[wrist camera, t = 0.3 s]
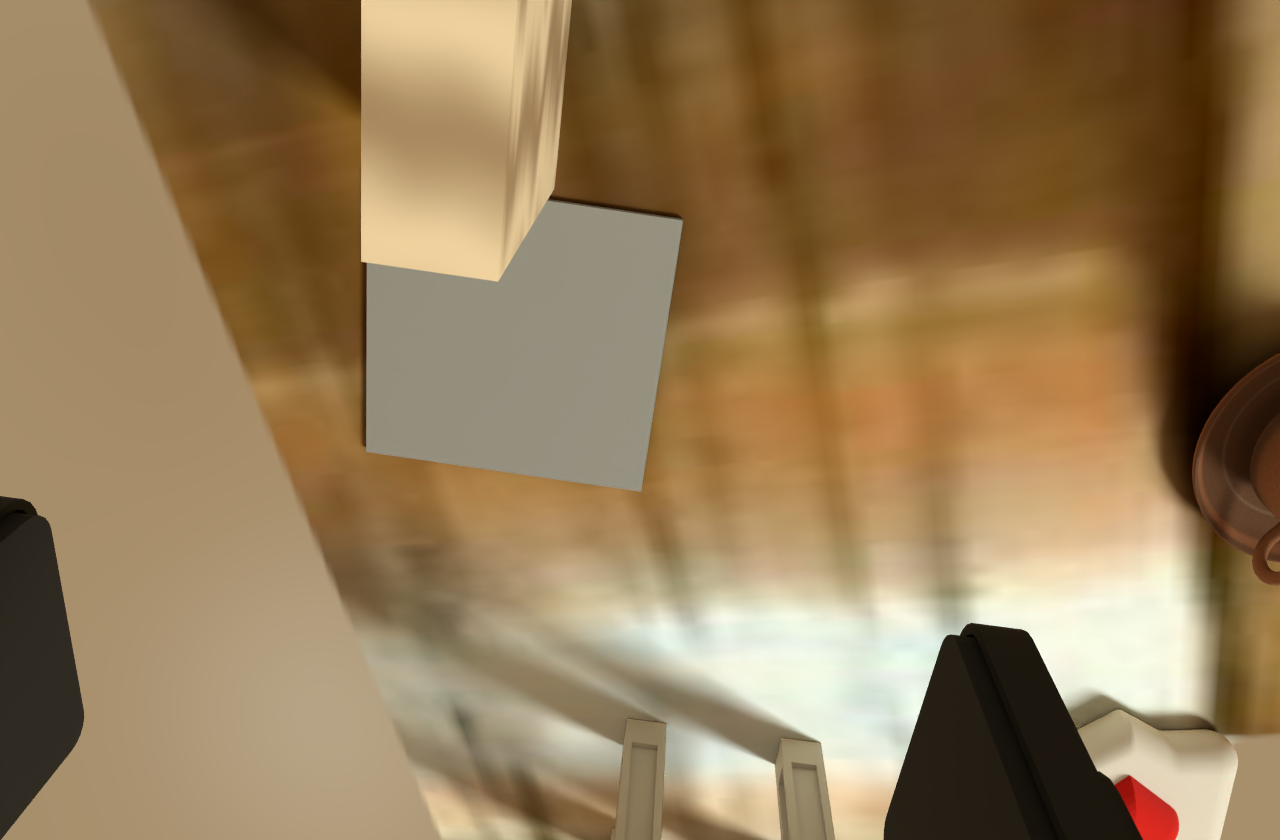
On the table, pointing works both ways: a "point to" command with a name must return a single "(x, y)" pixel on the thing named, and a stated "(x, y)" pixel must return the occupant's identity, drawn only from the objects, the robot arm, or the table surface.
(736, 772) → the table surface
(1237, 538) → the cup and saucer
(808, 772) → the stool
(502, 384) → the mat
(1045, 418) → the table surface
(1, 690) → the robot arm
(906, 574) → the table surface
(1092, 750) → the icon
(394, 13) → the slab
